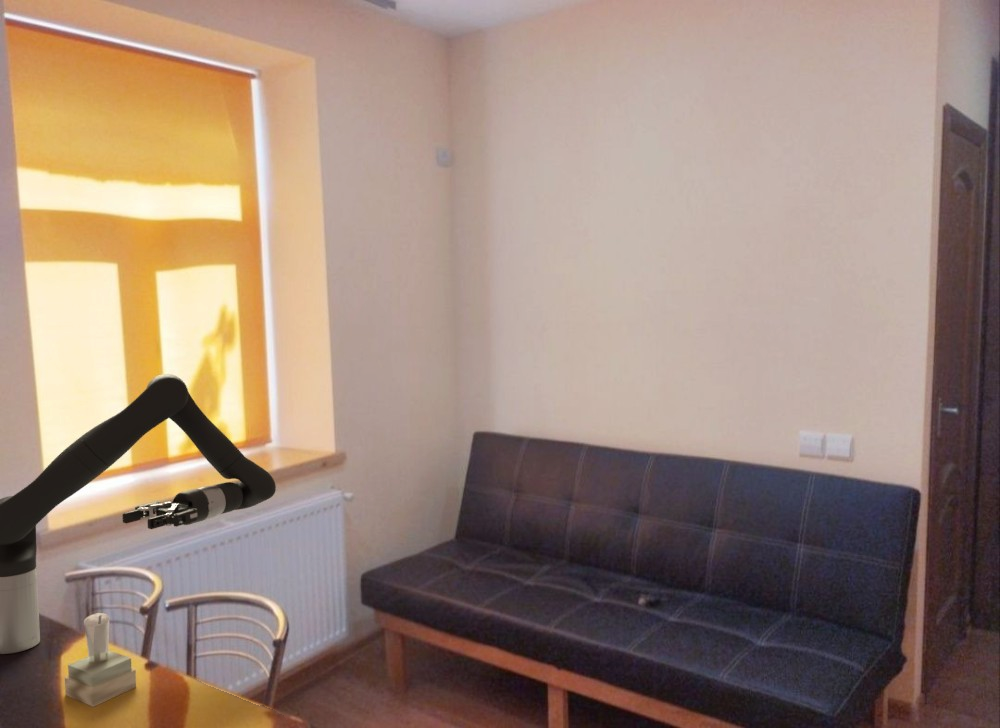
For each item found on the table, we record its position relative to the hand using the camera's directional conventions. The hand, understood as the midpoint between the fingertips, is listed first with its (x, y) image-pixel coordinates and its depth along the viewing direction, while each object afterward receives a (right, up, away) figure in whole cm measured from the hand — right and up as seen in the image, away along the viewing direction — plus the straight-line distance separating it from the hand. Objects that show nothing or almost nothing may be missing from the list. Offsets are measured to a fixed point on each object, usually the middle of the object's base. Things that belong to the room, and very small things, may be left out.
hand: (136, 521), depth 168 cm
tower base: (-1, -31, -12) cm, 33 cm away
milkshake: (-2, -25, -12) cm, 28 cm away
